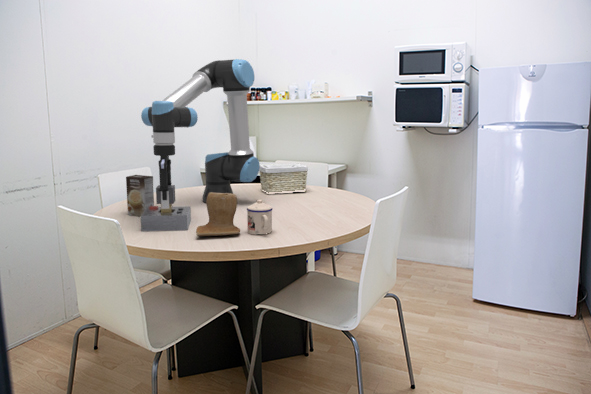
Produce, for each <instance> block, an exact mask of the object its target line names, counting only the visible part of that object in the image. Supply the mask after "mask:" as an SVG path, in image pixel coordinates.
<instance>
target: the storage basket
mask: <svg viewBox="0 0 591 394" xmlns="http://www.w3.org/2000/svg"><path fill="white" fill-rule="evenodd" d="M259 164H260V167H259V179H260V186H261V188H260V189H262V190H264V191H266V192H268V193H269V192H282V191H295V190H304V189H306V190H307V180H308V178H307V177H308V171H309V169H308V168H309V167H308V165H305V164H302V163H300V162H299V163H276V164H275V163H271V164H269V163H268V164H263V163H262V164H261V163H259ZM262 190H261V191H262Z"/></svg>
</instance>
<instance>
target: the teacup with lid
mask: <svg viewBox="0 0 591 394" xmlns="http://www.w3.org/2000/svg"><path fill="white" fill-rule="evenodd" d="M246 211H247V214H246V216H247V233H248V234H250V235H253V234H266V233H269V234H271V233H272V232H273V207H272V205H269V204H267V203H266V202H263V199H257V200H256V202H254V203H253V204H251V205H248V206H247V207H246ZM271 231H272V232H271ZM270 232H271V233H270ZM266 235H267V234H266Z"/></svg>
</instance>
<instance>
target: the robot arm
mask: <svg viewBox="0 0 591 394" xmlns="http://www.w3.org/2000/svg"><path fill="white" fill-rule="evenodd" d="M254 82H255V71H254V68H253V66H252V64H251V63H250V62H249V61H248V60H246V59H242V58H241V59H239V58H236V59H224V60H219V59H218V60H213V61H211V62H209V63H207V64H206V65H204V66H202V67H200V68H199V69H197V71H195V72H194V73H193V74H192V77H191V78H190V79H189V80H187V81H186V82H184V83H183V84H182V85H181V86H179V87H178V88H177V89H175V90H174V91H173V92H172V93H169V95H168V96H166V97H165V98H164V99H162V100H154V101H152V103H151V106H146V107H144V108H143V109H142V112H141V114H140V116H141V120H142V123H143V124H144V125H145V126H147V127H152V134H151V138H152V139H153V141H152V142H153V155H154V156H159V158H160V159H159V160H158V169H159V171H158V173H159V175H158V177H159V185H160V189H158V190H159V191H161V204H160V207H161V209H169V191H168V185H173V184H172V172H171V171H172V166H171V164H172V160H171V159H170V157H171V156H175V154H176V146H175V143H176V135H175V128H192V127H194V126H196V125H197V122H198V113H197V111H196V110H195V109H194V108H193V107H188V105H189V104H191V103H192V102H193V101H194V100H196V99H197V98H198V97H200V96H201V95H202V94H203V93H207V92H210V90H212V89H218V88H222V91H223V93H224V94H225V96H226V98H227V113H228V125H229V128H228V129H229V139H230V150H229V152H228V151H227V152H219V153H218V152H217V153H210V154H206V155H205V161H204V170H205V187H204V191H203V193H202V200H201V201H202V202H203V203H205V204H206V200H207V196H208V194H209V193H210V192H212V193H231V194H234V191H233V189H232V185H231V181H232V182H240V183H241V182H242V183H251V182H253V181H255V180H256V179H257V176H258V175H259V173H260V171H259V167H260V164H261V163H260V160H259V159H258V157H255V156H254V151H253V150H252V149H251V145H250V142H251V141H250V129H249V128H250V127H249V113H248V112H249V111H248V109H249V108H248V97H247V96H248V94H249V93H250V91H251V89H250V88H251V87H252V86H253V84H254Z"/></svg>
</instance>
